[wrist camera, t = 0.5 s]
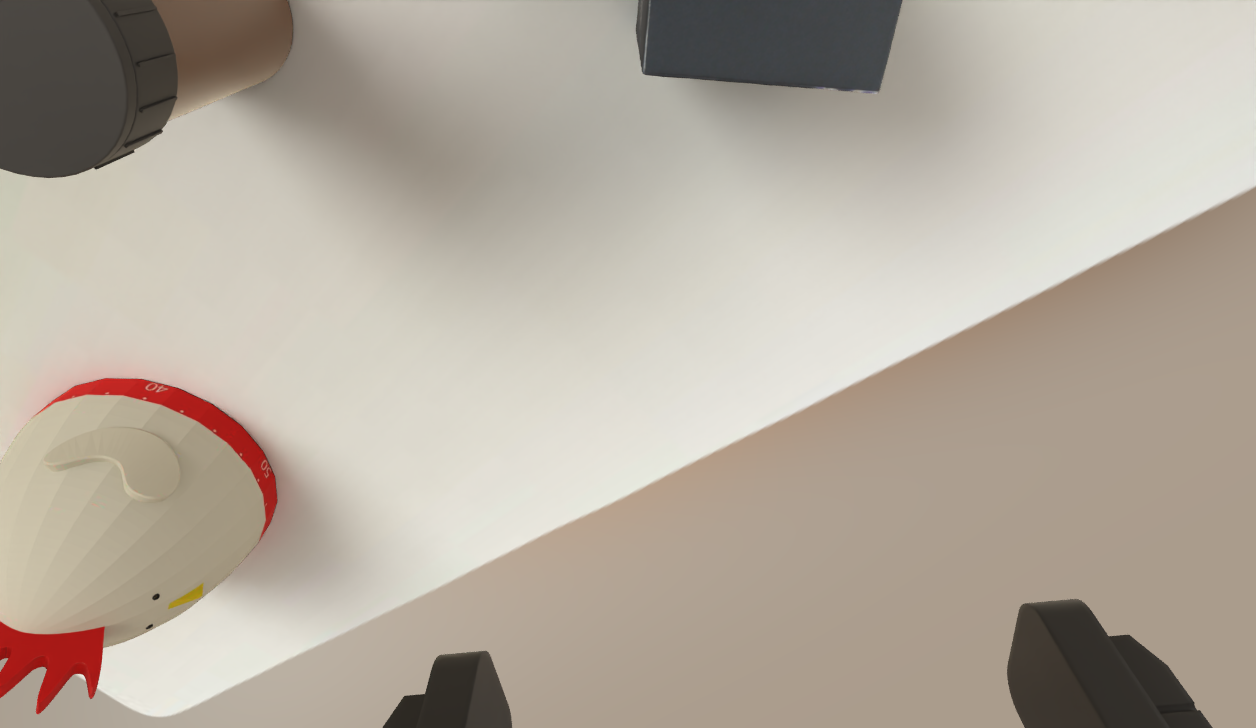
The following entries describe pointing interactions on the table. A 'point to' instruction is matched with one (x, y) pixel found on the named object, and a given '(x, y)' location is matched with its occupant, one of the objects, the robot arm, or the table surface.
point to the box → (769, 41)
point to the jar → (224, 46)
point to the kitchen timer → (118, 522)
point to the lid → (81, 83)
